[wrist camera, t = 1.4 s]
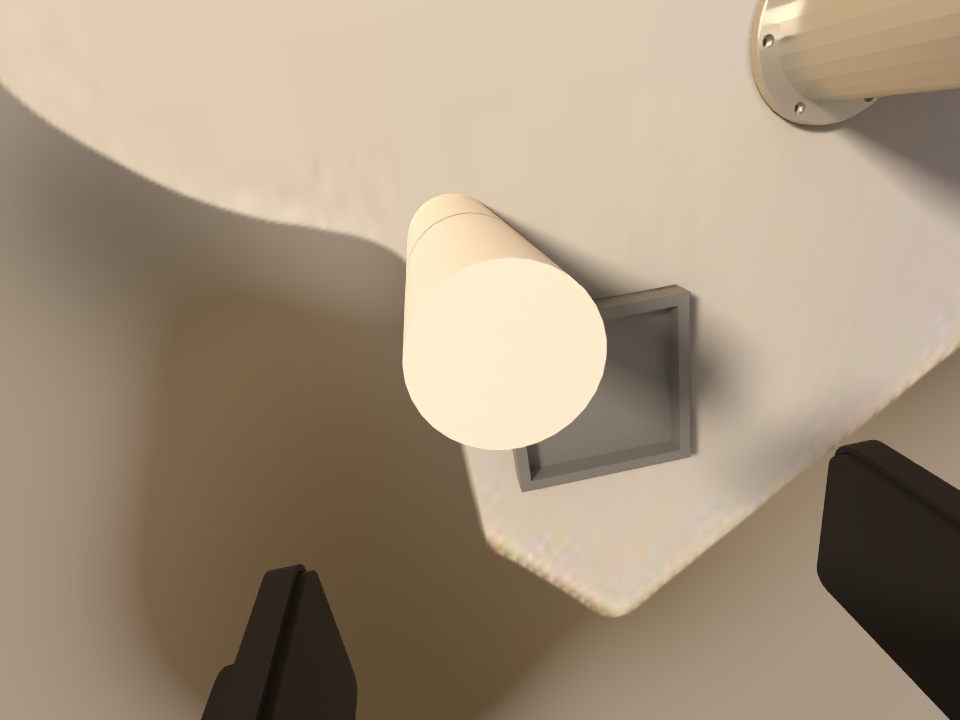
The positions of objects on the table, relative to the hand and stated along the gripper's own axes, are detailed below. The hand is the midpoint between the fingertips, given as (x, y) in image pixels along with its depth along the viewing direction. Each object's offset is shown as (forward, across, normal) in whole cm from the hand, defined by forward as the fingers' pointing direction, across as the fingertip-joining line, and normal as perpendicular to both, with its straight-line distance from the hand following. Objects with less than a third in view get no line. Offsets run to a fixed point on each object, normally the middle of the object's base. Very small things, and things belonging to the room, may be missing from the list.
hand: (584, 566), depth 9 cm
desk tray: (+34, -10, +15) cm, 39 cm away
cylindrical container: (+35, 0, 0) cm, 35 cm away
